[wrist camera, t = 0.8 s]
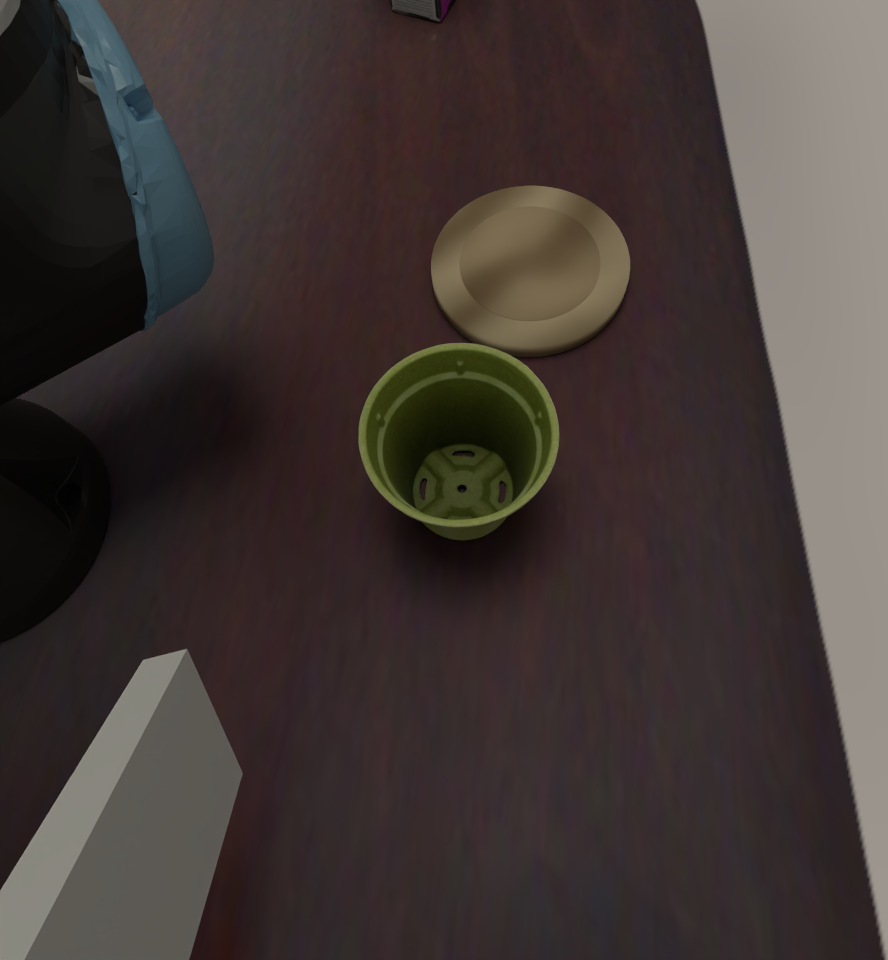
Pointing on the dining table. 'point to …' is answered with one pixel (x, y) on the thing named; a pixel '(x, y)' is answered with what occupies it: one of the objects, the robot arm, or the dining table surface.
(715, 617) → the dining table surface
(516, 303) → the plate
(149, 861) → the robot arm
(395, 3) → the candy bar box
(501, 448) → the plant pot
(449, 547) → the dining table surface
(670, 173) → the dining table surface
